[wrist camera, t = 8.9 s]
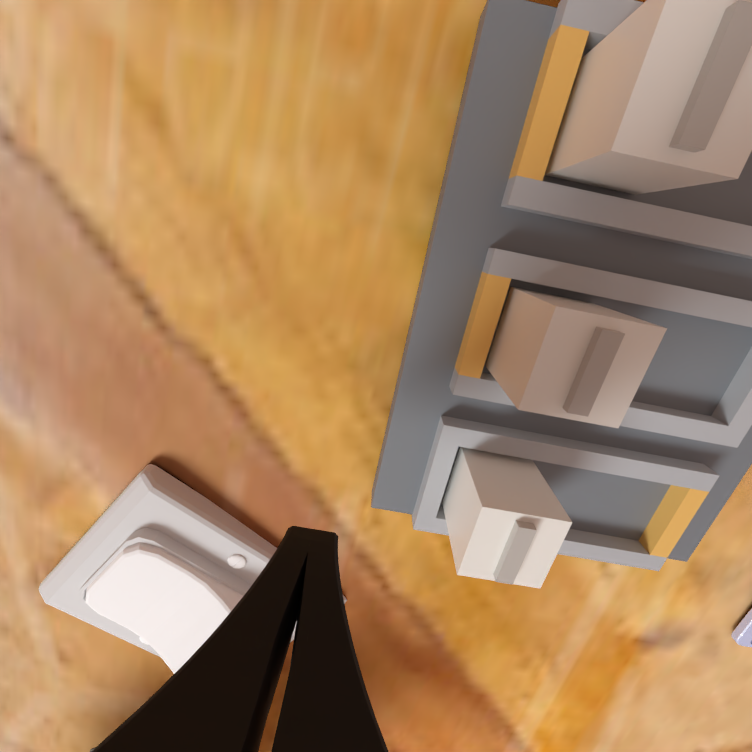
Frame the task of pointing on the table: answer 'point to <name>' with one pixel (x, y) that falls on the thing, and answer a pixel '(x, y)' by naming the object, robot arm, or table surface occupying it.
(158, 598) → the light switch
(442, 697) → the table surface
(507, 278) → the switch unit
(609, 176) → the slider near
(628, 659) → the table surface
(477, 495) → the slider far
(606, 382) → the slider mid
